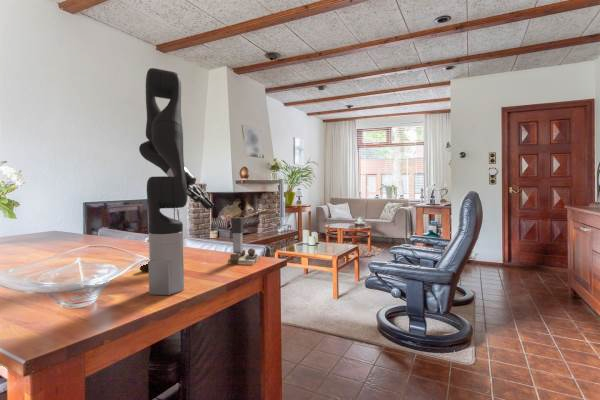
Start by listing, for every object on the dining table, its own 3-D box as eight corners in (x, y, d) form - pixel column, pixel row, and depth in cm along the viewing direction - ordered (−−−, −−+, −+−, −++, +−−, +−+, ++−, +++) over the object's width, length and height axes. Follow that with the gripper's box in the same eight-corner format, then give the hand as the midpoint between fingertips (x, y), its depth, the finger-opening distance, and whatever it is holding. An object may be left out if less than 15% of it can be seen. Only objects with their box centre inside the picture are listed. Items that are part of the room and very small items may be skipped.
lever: (240, 258, 134) (239, 218, 133) (231, 258, 134) (230, 218, 133) (244, 255, 140) (244, 216, 139) (236, 255, 140) (235, 216, 139)
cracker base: (253, 264, 131) (253, 251, 131) (227, 264, 132) (227, 250, 132) (259, 258, 141) (259, 246, 141) (235, 258, 142) (235, 245, 142)
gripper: (179, 169, 131) (210, 202, 130) (194, 170, 145) (223, 200, 144) (166, 183, 132) (197, 215, 131) (183, 183, 146) (211, 212, 145)
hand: (210, 207), depth 137 cm, fingers open, 3 cm apart
